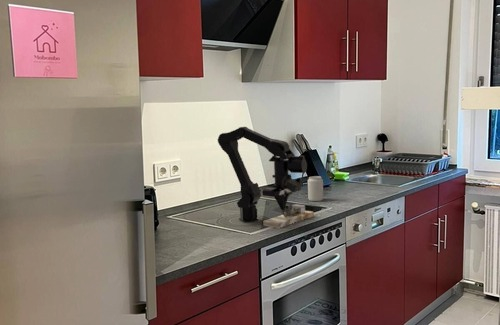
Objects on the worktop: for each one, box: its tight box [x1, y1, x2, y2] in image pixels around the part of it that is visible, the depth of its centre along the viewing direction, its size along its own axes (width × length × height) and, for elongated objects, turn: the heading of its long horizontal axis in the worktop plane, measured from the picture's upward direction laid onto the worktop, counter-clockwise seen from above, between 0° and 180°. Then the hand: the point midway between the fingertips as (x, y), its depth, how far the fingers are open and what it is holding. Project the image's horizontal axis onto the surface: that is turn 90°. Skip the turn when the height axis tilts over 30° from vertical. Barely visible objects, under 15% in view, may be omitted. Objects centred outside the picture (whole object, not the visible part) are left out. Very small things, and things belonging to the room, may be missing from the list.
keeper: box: [291, 203, 306, 214], centre depth 209 cm, size 3×5×3 cm, turn 48°
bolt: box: [281, 204, 299, 217], centre depth 206 cm, size 10×3×5 cm, turn 138°
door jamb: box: [263, 210, 315, 229], centre depth 205 cm, size 24×8×2 cm, turn 138°
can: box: [307, 175, 324, 202], centre depth 245 cm, size 8×8×12 cm
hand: (282, 209), depth 202 cm, fingers closed
